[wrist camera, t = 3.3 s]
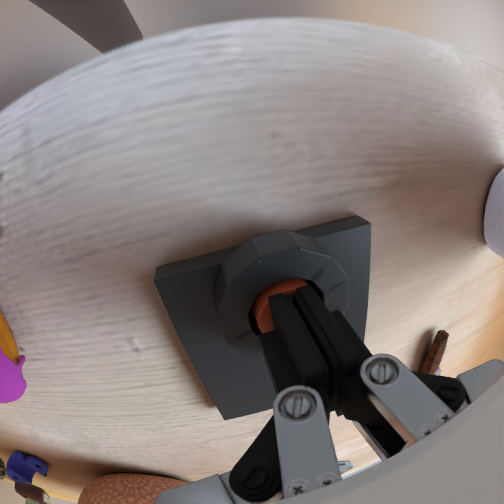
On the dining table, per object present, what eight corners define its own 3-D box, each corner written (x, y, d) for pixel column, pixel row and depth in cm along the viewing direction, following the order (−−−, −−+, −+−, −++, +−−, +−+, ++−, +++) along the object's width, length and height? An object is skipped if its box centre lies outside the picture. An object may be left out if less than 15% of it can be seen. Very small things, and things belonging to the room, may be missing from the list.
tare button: (243, 275, 11) (252, 300, 10) (302, 259, 12) (319, 280, 10) (254, 322, 13) (263, 347, 11) (307, 306, 13) (321, 329, 11)
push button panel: (150, 252, 12) (140, 288, 9) (357, 200, 13) (394, 220, 10) (222, 407, 18) (228, 441, 15) (351, 366, 19) (369, 395, 16)
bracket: (0, 470, 14) (1, 459, 16) (24, 486, 16) (23, 475, 18) (29, 455, 18) (30, 442, 20) (55, 472, 20) (53, 459, 22)
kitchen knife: (424, 413, 29) (399, 433, 28) (418, 406, 30) (393, 425, 29) (473, 315, 18) (442, 345, 18) (461, 306, 20) (429, 334, 19)
